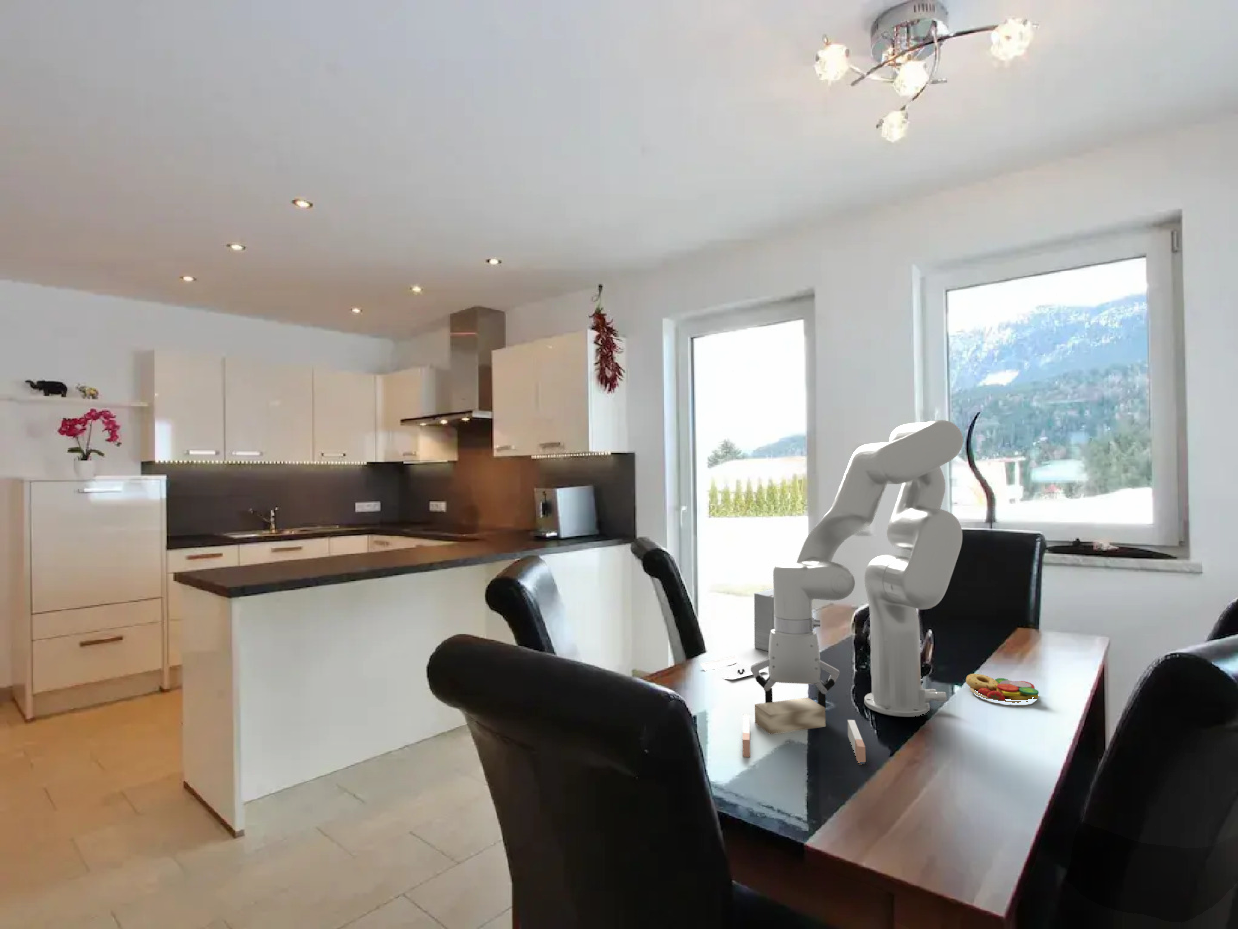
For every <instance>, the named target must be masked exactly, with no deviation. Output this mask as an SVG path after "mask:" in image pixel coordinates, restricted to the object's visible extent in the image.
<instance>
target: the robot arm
mask: <svg viewBox="0 0 1238 929" xmlns="http://www.w3.org/2000/svg"><path fill="white" fill-rule="evenodd" d="M963 443H964V437H963V433H962V431H961V429H960V428H959V426H957V424H955V423H953V422H952V421H949V420H946V419H945V420H944V419H936V420H927V421H917V422H910V423H904V424H902V425H899V426H897V427H895V429H893V430H892V432H891V433H890V435H889V439H888V441H886V442H873V443H867V444H863V445H861V446H859V447H857V448H856V449H855V451H854V452H852V455H851V458H850V459H849V462H848V464H847V468H846V469H845V472H844V475H843V478H842V479H841V480H842V481H841V483H840V485H839V487H838V490H837V492H836V495H835V497H834V500H833V502H832V505H831V507H830V509H828V511H827V513H825V514H824V516H822V517H821V519H820V520H819V522H818V523H816V524H815V526H814V527H813V529H811V531H810V532H809V534H808V535H807V538H805V541H804V542H803V545H802V548H801V550H800V553H799V555H798V557H797V561H796V562H783V563H778V564H776V565H775V566H774V568H773V571H772V572H773V573H772V574H773V575H772V576H773V589H774V629H772V630H771V632H770V638H769V651H768V657H767V658H764V659H763V660H761V661H759V662H756V663H755V664H752V665H751V666H750V672H752V674H753V675H752V676H753V677H754V678H755V681H756V682H757V683H758V685H759V686H761V688H763V690H764V693H765V695H764V697H765V701H764V703H769V702H773V687H774V685H775V684H776V683H782V684H796V685H797V684H800V685H814V686H815V687H816V688H817V690H816V697H817V698H816V701H817V702H816V703H818V704H820V705H821V706H823V707H825V710H826V706H827V702H826V699H827V698H826V697H827V696H826V694H827V693H828V692H829V691H830V690H831V689H832V687H834V686H835V683H836V681H837V680H838V677H839V676H840V670H839V669H838V668H836V667H834V666H832V665H831V664H828V663H826V662H825V661H823V660H821V654H820V645H819V638H818V635H817V631H816V630H815V628H821V620H820V619H815V618H813V600H823V601H830V602H831V601H833V602H834V601H840V600H841V601H842V600H844V599H846V598H848V596H850V595H851V594H852V593H853V591H854V589H855V586H856V585H855V584H856V582H855V576H854V574H853V572H852V571H851V570H850V569H849V568H848V567H846V566H844V564H843V565H842V564H840V563H838V562H833V558H834V556H835V554H836V552H837V550H838V549H839V548H840V547H841V545H842V544H843V543H844V542H845V541H846V540H847V539H849V538H850V537H852V536H853V535H856V534H858V533H859V532H861V531H863V530H865V529H866V528H868V527H869V526H871V525H872V524H873V522H874V519H875V516H876V513H877V512H878V508H879V506H880V503H881V501H882V498H883V495H884V494H885V491H886V488H887V485H901V486H900V490H899V493H898V495H897V498H896V499H897V500H896V502H895V504H894V508H893V510H892V513H891V516H890V518H889V521H888V525H887V529H886V537H887V540H888V542H889V543H890V544H891V545H892V547H894V548H896V549H898V550H901V551H904V552H909V553H910V556H909V557H908V556H903V555H897V554H889V553H888V554H881V555H878V556H876V557H874V558H873V559H871V560H870V561H869V563H868V564H867V565H866V568H865V571H864V586H865V587H864V588H865V592H866V595H867V601H868V606H869V607H868V608H869V618H870V619H869V621H870V622H869V625H870V627H869V628H870V629H869V630H870V665H871V666H870V668H871V669H870V671H871V672H870V673H871V674H870V675H871V692H870V693H867V694H865V696H864V699H863V700H864V702H863V703H864V705H865V706H866V708H868V709H869V710H872V711H874V712H877V713H879V714H883V715H887V716H893V717H900V718H902V717H903V718H910V717H911V718H916V717H920V715H921V716H923V715H922V714H924V715H926V714H925V713H927V712H928V711H929V712H930V703H931V701H932V702H943V703H944V702H945V703H946V702H947V699H948V696H947V693H946V692H945V691H937V689H935V688H924V687H923V685H922V680H921V678H922V677H921V642H920V641H921V640H920V638H921V637H920V635H921V631H920V619H919V614H918V612H917V610H928V609H932V608H934V607H936V606H937V605H938V604H940V602H941V601H942V599H943V598H944V596H945V594H946V592H947V590H948V587H949V585H950V582H951V579H952V576H953V573H954V570H955V567H956V563H957V560H958V558H959V555H960V551H961V549H962V544H963V529H962V525H961V523H960V521H959V520H958V518H957V517H956V516H955V515H954V514H953V513H951V512H950V511H948V510H944V509H943V508H942V504H943V501H944V497H945V493H946V480H945V476H944V473H943V471H942V468H941V466H943V465H945V464H948V463H950V462H951V461H953V459H955V458H956V457H957V455H959V453H960V452H961V450H962V448H963ZM941 508H942V509H941ZM766 668H768V675H769V676H768V677H767V678H765V677H763V675H762V674H761V673H760V672H759V671H760V670H763V669H766ZM822 670H823V671H825V672H827V673H829V677H828V678H827V679H826V680H825V681H824V682H823V680H821V679H822V678H821V677H822ZM929 712H928V713H929ZM928 713H927V714H928ZM915 716H916V717H915Z"/></svg>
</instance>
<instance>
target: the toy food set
mask: <svg viewBox="0 0 1238 929" xmlns="http://www.w3.org/2000/svg"><path fill="white" fill-rule="evenodd" d="M965 683H966V685H968V686H969V690H970V692H971V693H972V694H973V693H975V694H976V695H978V696H981V697H983V698H986V699H993V700H998V701H1005V702H1012V703H1015V702H1017V703H1019V702H1021V701H1006V700H1005V699H1011V700H1028V699H1032V697H1034V698H1033V699H1038V698H1040V696H1038V695H1039V693H1040V692H1039V690H1038V689H1035V688H1036V687H1035V685H1034V684H1033V683H1031V682H1028V681H1024V680H1011V679H1010V680H1009V679H1008V678H1003V677H998V678H996V679H994V678H992V677H990V676H988V675H985V674H980V673H970V674H968V675H967V676H966V678H965ZM975 690H976V691H978V693H977V692H976V691H975ZM979 693H980V694H979ZM981 694H982V695H981ZM1038 700H1039V699H1038ZM1026 702H1028V701H1026Z"/></svg>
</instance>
